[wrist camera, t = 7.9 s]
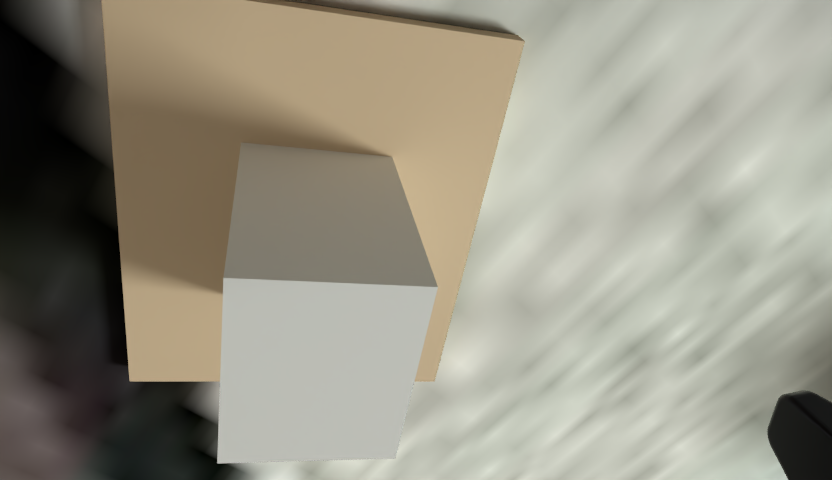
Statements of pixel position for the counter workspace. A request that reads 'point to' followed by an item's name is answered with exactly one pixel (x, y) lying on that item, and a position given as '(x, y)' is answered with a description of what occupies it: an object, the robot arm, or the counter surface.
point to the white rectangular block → (319, 308)
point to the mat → (283, 143)
